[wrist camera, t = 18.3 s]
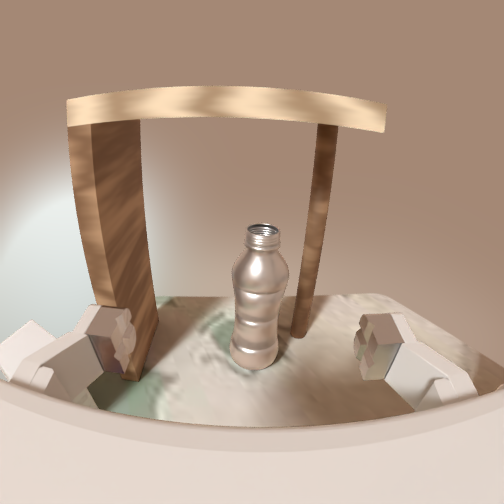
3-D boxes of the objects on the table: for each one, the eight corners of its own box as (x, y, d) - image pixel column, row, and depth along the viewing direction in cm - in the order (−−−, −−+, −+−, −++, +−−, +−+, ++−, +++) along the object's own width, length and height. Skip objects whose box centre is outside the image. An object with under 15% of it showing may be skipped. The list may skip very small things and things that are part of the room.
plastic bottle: (234, 341, 46) (237, 215, 36) (278, 347, 45) (295, 221, 36) (224, 372, 40) (224, 238, 31) (274, 379, 39) (293, 246, 30)
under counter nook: (308, 327, 49) (343, 100, 33) (322, 390, 38) (387, 104, 21) (144, 319, 48) (121, 95, 32) (121, 379, 37) (66, 99, 21)
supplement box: (66, 385, 34) (32, 316, 28) (102, 412, 31) (67, 343, 25) (33, 417, 28) (-13, 350, 22) (67, 449, 25) (17, 386, 19)
